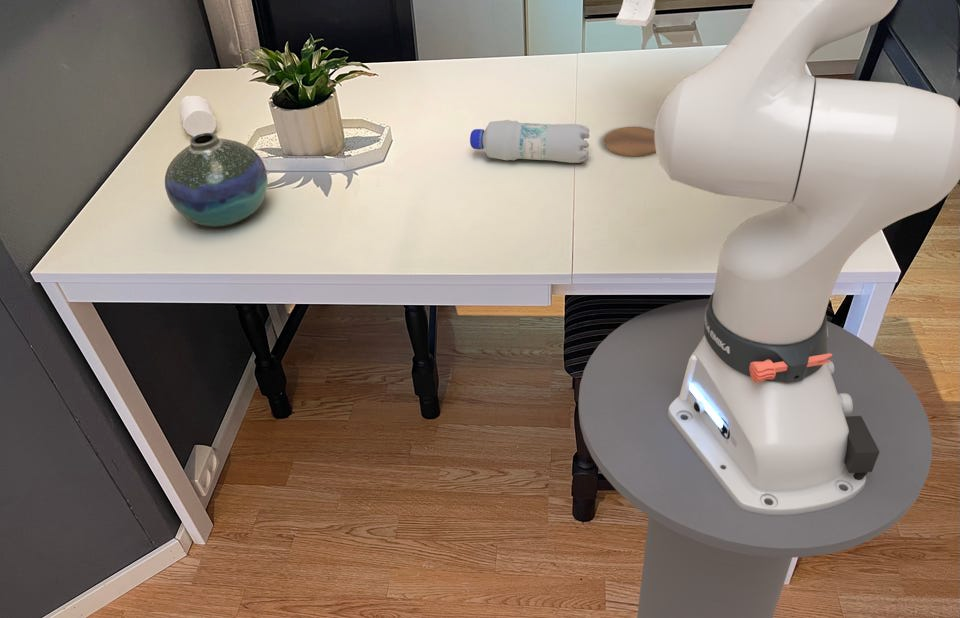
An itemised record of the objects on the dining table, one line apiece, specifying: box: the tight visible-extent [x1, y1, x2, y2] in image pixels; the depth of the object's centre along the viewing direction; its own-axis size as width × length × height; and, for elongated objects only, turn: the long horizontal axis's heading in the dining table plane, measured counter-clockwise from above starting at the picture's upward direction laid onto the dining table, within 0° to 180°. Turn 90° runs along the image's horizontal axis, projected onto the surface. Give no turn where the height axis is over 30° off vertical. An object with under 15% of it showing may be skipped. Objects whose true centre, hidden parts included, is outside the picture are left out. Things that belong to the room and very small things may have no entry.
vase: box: [164, 132, 269, 227], centre depth 123 cm, size 15×15×13 cm
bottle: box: [469, 119, 590, 164], centre depth 132 cm, size 7×7×20 cm
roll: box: [178, 95, 217, 138], centre depth 151 cm, size 6×12×6 cm, turn 23°
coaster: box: [603, 126, 656, 157], centre depth 136 cm, size 10×10×1 cm
